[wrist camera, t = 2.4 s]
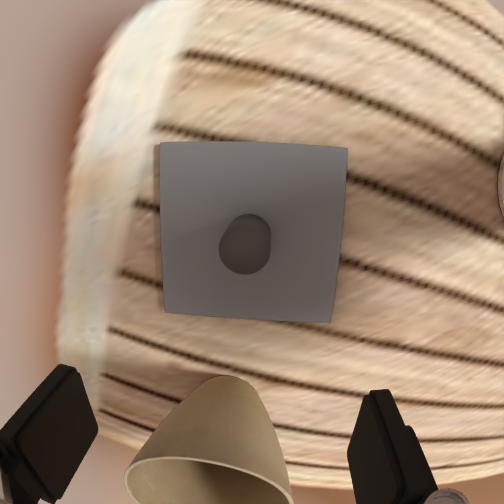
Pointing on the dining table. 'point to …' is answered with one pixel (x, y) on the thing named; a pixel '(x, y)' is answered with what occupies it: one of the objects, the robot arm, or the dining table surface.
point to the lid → (251, 229)
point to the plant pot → (212, 452)
